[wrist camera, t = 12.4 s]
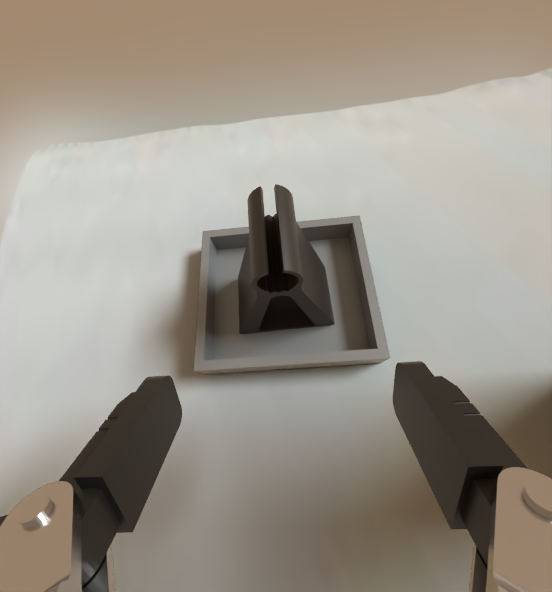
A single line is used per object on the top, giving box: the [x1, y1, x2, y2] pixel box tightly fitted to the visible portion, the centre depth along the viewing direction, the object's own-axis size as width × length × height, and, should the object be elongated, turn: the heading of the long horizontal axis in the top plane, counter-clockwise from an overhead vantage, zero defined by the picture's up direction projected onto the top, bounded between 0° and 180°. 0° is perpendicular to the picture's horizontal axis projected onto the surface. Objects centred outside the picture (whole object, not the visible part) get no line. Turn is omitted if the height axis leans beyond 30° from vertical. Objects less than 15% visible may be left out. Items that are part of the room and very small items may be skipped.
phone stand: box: [238, 185, 335, 334], centre depth 20 cm, size 9×6×12 cm, turn 94°
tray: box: [194, 216, 390, 374], centre depth 25 cm, size 16×14×3 cm
